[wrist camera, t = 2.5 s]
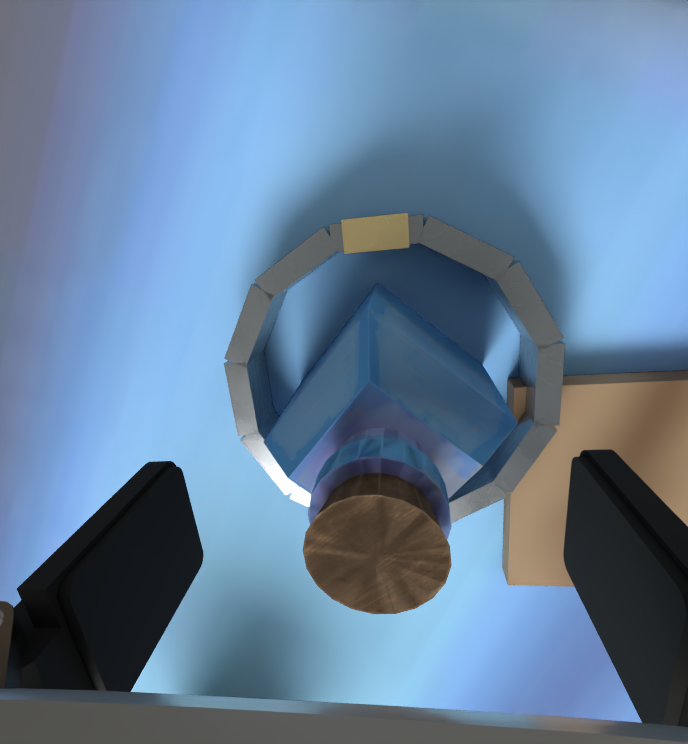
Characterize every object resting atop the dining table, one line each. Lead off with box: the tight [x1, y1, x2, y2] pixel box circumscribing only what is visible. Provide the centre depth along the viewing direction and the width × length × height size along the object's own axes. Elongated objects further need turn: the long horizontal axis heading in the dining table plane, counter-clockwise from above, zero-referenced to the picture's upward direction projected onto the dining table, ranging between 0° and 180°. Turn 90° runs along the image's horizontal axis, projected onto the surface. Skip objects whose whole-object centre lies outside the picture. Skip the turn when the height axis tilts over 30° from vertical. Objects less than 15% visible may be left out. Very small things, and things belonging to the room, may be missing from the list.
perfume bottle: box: [264, 283, 518, 614], centre depth 15 cm, size 6×6×12 cm
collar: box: [224, 213, 565, 523], centre depth 19 cm, size 14×14×3 cm
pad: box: [502, 370, 688, 586], centre depth 20 cm, size 11×11×1 cm
